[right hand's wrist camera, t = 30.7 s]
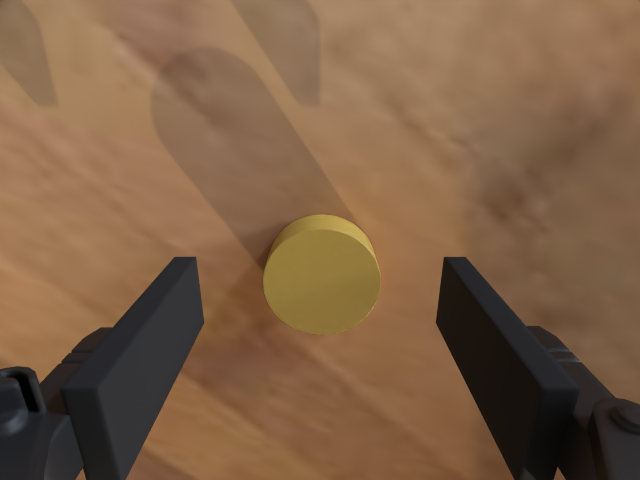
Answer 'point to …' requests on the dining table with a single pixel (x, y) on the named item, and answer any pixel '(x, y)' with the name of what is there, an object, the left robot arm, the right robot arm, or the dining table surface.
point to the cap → (321, 275)
